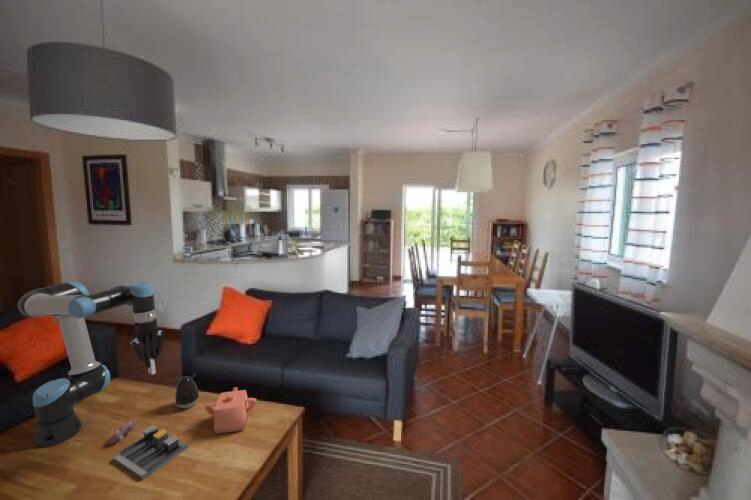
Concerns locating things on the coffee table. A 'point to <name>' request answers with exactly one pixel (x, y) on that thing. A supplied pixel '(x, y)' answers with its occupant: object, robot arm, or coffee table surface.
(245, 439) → the coffee table surface
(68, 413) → the robot arm
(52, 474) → the coffee table surface
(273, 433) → the coffee table surface
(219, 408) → the teapot
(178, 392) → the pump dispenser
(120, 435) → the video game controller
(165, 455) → the panel
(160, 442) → the breaker
